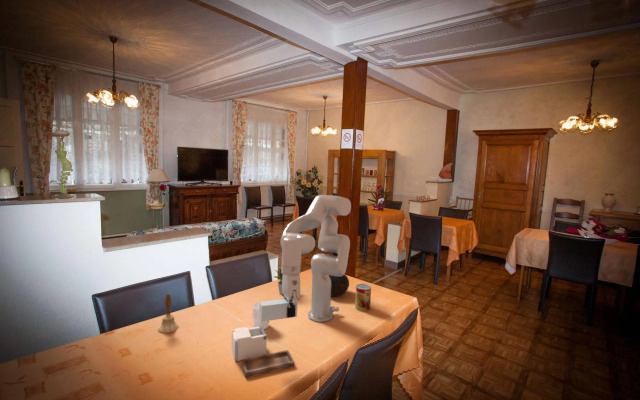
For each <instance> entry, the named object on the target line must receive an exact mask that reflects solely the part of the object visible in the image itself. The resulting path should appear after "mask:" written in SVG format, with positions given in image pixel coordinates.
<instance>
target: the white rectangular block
mask: <svg viewBox="0 0 640 400" xmlns="http://www.w3.org/2000/svg"><path fill="white" fill-rule="evenodd" d="M290 299H292V298H290ZM259 302H260V303H259V318H260V320H261V322H263V321H277V320H283V319H288V318H287V307H288V300H287V299H284V298H283V299H273V300H265V301H259ZM291 302H293V301H290V304H291ZM297 317H298V301H297V304H296V309H295V317H294V318H297ZM291 318H293V317H290V318H289V319H291Z"/></svg>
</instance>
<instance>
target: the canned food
mask: <svg viewBox="0 0 640 400" xmlns="http://www.w3.org/2000/svg"><path fill="white" fill-rule="evenodd" d="M371 296H372V286H371V285H369V284H366V283H358V284H356V287H355V304H354V305H355V306H354V307H355V309H356V310H357V311H360V312H369V311H370V310H371V298H372V297H371Z"/></svg>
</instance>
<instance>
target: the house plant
mask: <svg viewBox="0 0 640 400" xmlns="http://www.w3.org/2000/svg"><path fill="white" fill-rule="evenodd" d="M278 270H279V271H278ZM278 270H276V269H275V271H276V273H277V274H278V275H277V276H276V275H275V276H273V278H276V279H278V280H279V281H278V282H277V286H278V292H279V295H282V296H284V295H283V293H282V277H283V274H282V273H281V267H280V266H278Z"/></svg>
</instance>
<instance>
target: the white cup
mask: <svg viewBox="0 0 640 400" xmlns="http://www.w3.org/2000/svg"><path fill="white" fill-rule="evenodd" d="M260 302H261V301H259V302H255V303H253V304H252V322H253V327H259V326H262V327H263V329H264V330H267V329H268V328H269V321H263V322H261V320H260V318H259V303H260Z"/></svg>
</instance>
